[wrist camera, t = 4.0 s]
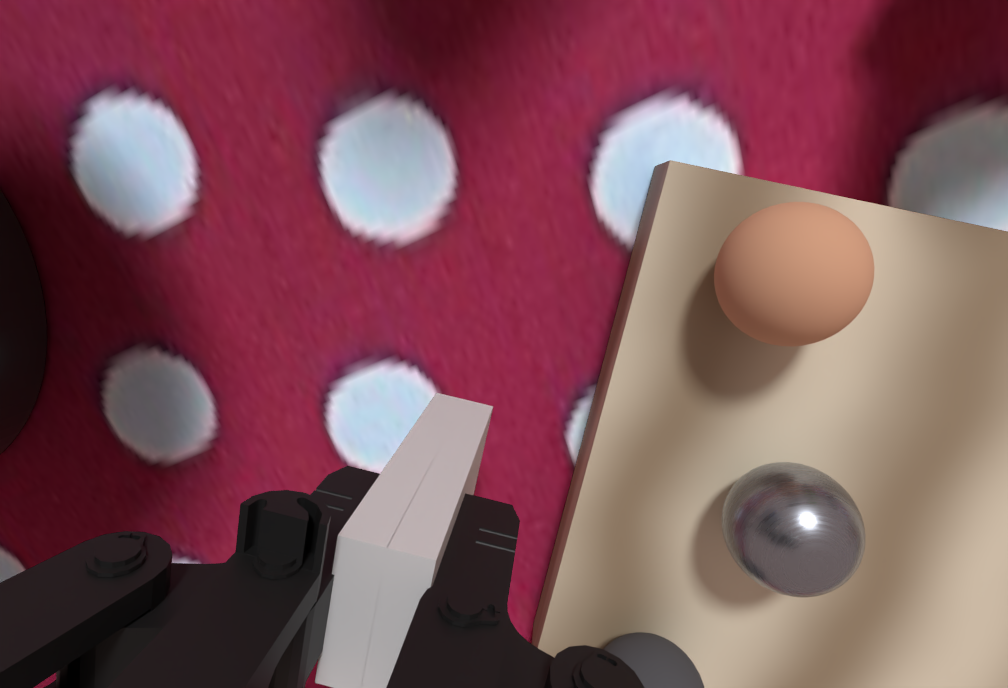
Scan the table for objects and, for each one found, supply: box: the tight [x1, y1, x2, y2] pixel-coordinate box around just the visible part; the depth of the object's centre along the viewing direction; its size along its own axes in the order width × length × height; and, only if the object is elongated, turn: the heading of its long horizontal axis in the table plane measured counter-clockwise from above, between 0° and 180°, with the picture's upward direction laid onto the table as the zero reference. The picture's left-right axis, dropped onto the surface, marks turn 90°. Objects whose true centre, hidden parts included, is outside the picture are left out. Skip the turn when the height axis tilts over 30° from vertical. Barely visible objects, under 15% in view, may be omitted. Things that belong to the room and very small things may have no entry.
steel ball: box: [721, 462, 866, 598], centre depth 14 cm, size 3×3×3 cm
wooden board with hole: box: [532, 160, 1008, 688], centre depth 17 cm, size 24×16×2 cm, turn 78°
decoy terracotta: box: [714, 202, 874, 347], centre depth 13 cm, size 3×3×3 cm
